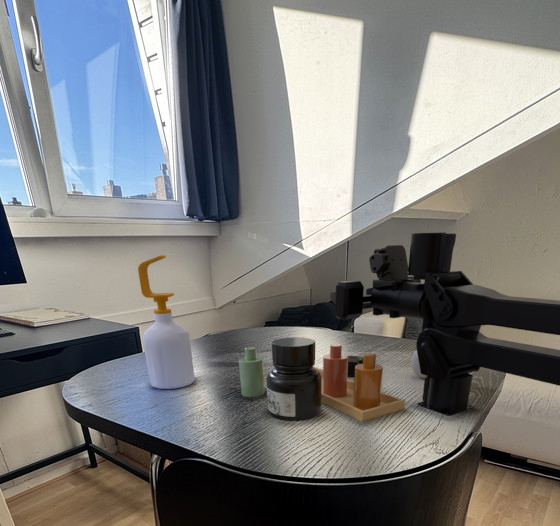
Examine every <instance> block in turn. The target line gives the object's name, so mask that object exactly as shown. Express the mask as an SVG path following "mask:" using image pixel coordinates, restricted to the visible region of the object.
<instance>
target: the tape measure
mask: <svg viewBox="0 0 560 526" xmlns="http://www.w3.org/2000/svg"><path fill="white" fill-rule="evenodd" d="M347 356H348V376H347V377H355V366H356V365H358V364H363V356H359V355H358V356H357V355H347Z"/></svg>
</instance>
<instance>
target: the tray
mask: <svg viewBox="0 0 560 526" xmlns="http://www.w3.org/2000/svg"><path fill="white" fill-rule="evenodd" d="M313 367H314V368H315V369H316V370H317V371H318V372H319V373H320V375H321V379H322V383H321V404H324V405H325V406H328V407H329V408H332V409H334V410H336V411H338V412H341V413H343V414H344V415H347V416H348V417H351V418H353V419H355V420H358V421H359V422H361V423H363V422H366V421H370V420H374V419H376V418H380V417H383V416H386V415H390V414H393V413H396V412H399V411H403V410H405V404H406V400H405V399H403V398H400V397H398V396H396V395H395V396H394V395H392V394H389V393H386V392H384V391H381V400H380V406H378V407H374V408H371V409H367V410H364V411H363V410H360V409H358V408H356V407H354V406H353V400H354V380H351V379H348V378H347V395H346V396H344V397H340V398H333V397H331V396H329V395H326V394H324V393H323V369H322V368H318V367H315V366H313Z"/></svg>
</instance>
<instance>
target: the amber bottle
mask: <svg viewBox="0 0 560 526" xmlns="http://www.w3.org/2000/svg"><path fill="white" fill-rule="evenodd" d="M362 355H363V356H362V358H363V364H358V365H356V366H355V376H354V380H353V381H354V400H353V406H354V407H356V408H358V409H360V410H363V411H364V410H367V409H371V408H374V407H378V406H380V400H381V392H382V385H383V373H384V367H383V365H381V364H378V363H377V354H376V353H373V352H367V353H366V352H365V353H363V354H362Z"/></svg>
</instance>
